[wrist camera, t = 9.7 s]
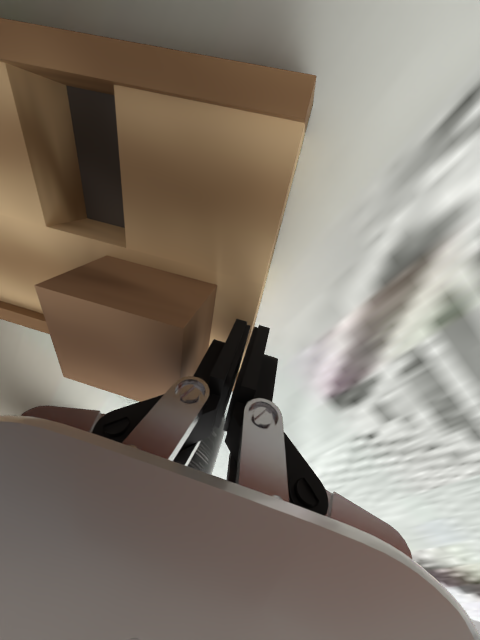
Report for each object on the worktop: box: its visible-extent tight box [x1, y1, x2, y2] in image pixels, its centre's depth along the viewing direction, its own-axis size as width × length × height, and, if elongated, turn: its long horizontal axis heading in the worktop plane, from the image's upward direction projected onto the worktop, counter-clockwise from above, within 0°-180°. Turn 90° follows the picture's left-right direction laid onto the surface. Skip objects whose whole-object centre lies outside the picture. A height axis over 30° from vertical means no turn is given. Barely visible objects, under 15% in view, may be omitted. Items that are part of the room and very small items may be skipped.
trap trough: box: [0, 18, 316, 391], centre depth 13 cm, size 14×28×6 cm, turn 80°
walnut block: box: [34, 255, 217, 402], centre depth 12 cm, size 5×6×4 cm
